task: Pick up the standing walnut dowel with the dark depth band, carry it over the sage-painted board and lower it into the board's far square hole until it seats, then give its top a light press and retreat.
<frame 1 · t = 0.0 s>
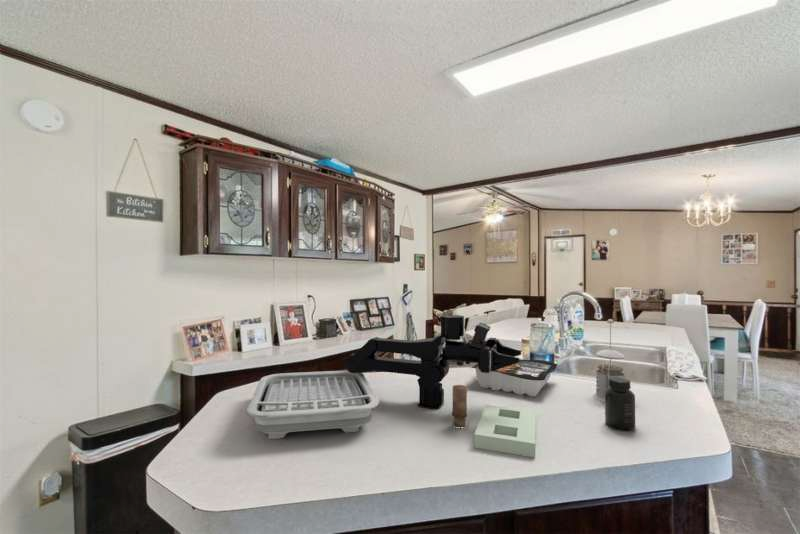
hand: (520, 356, 104), 17 cm above the table, tool horizontal, fingers open, 9 cm apart
food packaging: (513, 386, 133), on the table
dish rack: (314, 416, 105), on the table
peg: (459, 425, 98), on the table
french press: (609, 399, 119), on the table
board: (507, 433, 93), on the table
supplement bottle: (619, 426, 99), on the table
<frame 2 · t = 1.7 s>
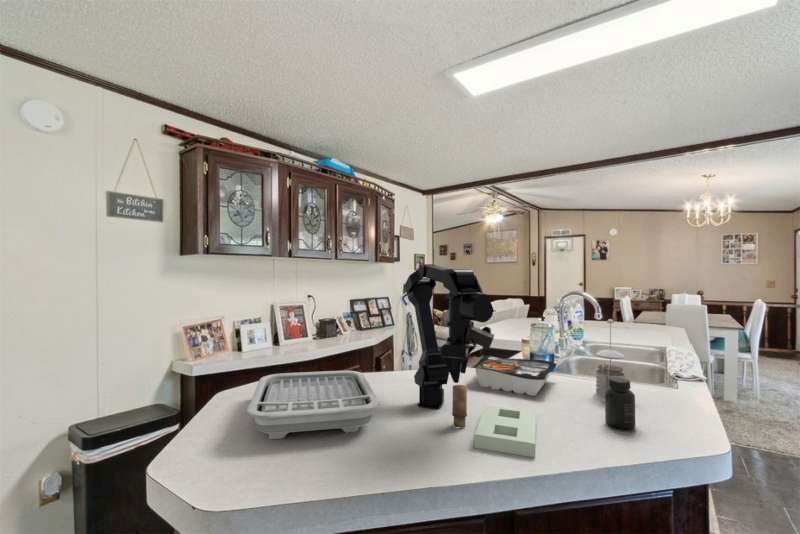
hand: (459, 377, 98), 12 cm above the table, tool pointing down, fingers open, 9 cm apart
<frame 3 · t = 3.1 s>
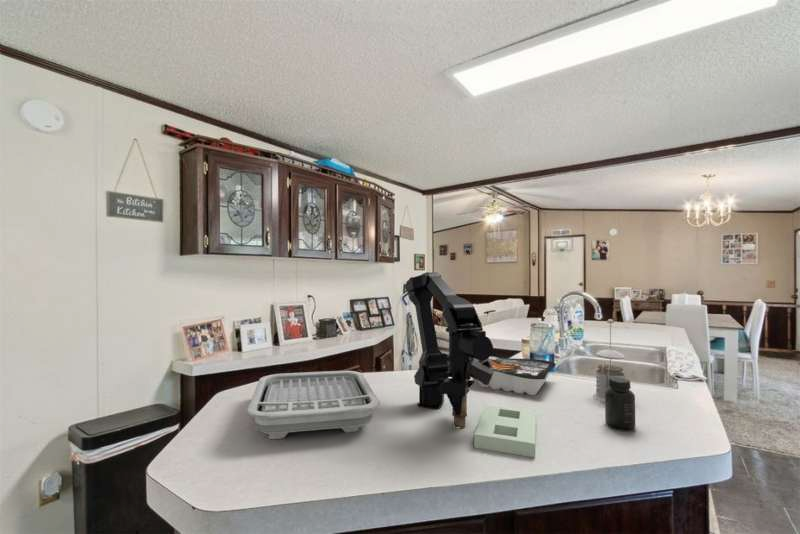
hand: (459, 412, 98), 4 cm above the table, tool pointing down, fingers closed on peg, 4 cm apart
peg: (459, 425, 98), on the table, touching gripper
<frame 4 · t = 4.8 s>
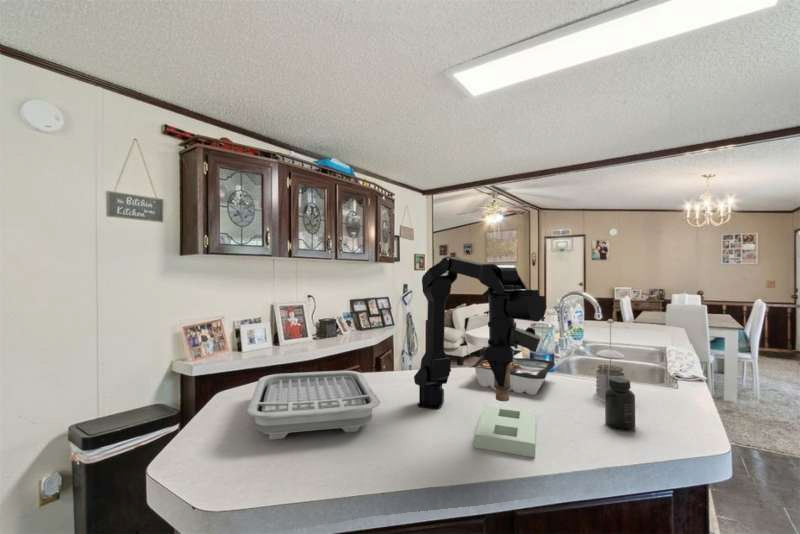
hand: (502, 384, 89), 14 cm above the table, tool pointing down, fingers closed on peg, 4 cm apart
peg: (502, 399, 89), point 10 cm above the table, touching gripper
when the fingers open (4 cm above the table, at t = 6.8 s): peg drops 1 cm, resting in board.
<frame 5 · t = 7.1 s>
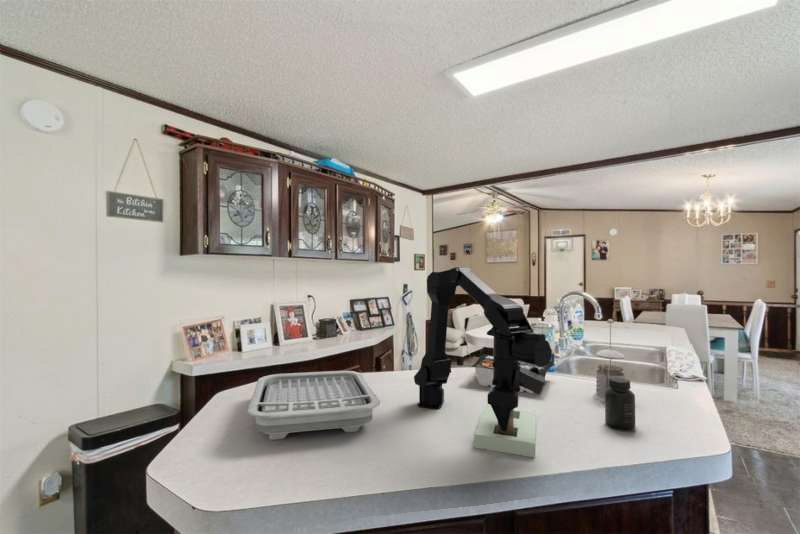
hand: (505, 424, 88), 4 cm above the table, tool pointing down, fingers open, 7 cm apart
peg: (505, 443, 88), resting in board
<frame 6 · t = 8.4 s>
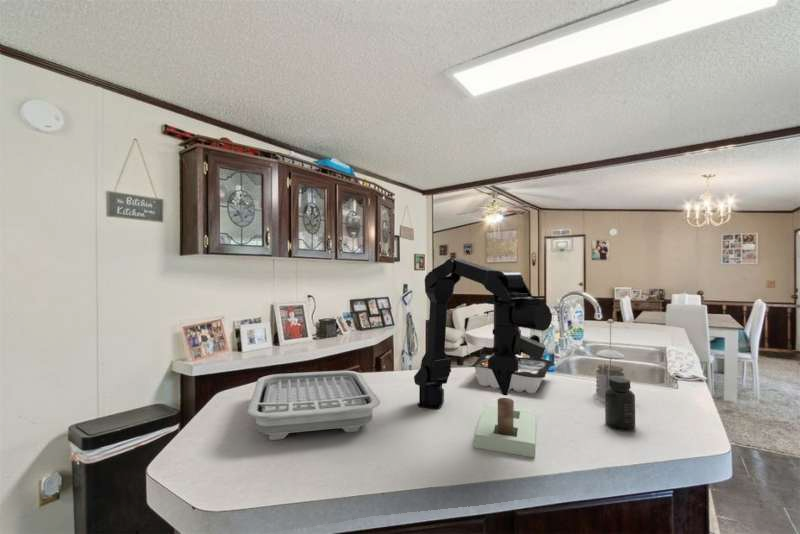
hand: (505, 391, 88), 12 cm above the table, tool pointing down, fingers open, 4 cm apart
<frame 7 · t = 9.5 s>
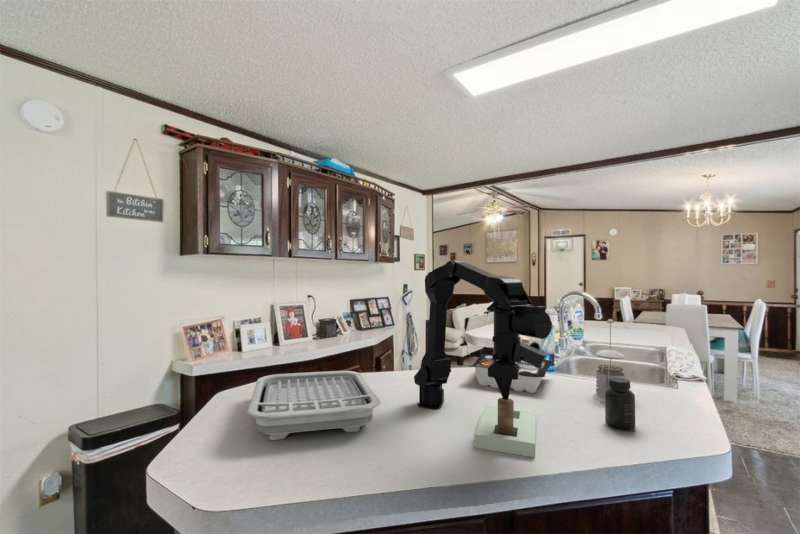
hand: (505, 399, 88), 10 cm above the table, tool pointing down, fingers closed
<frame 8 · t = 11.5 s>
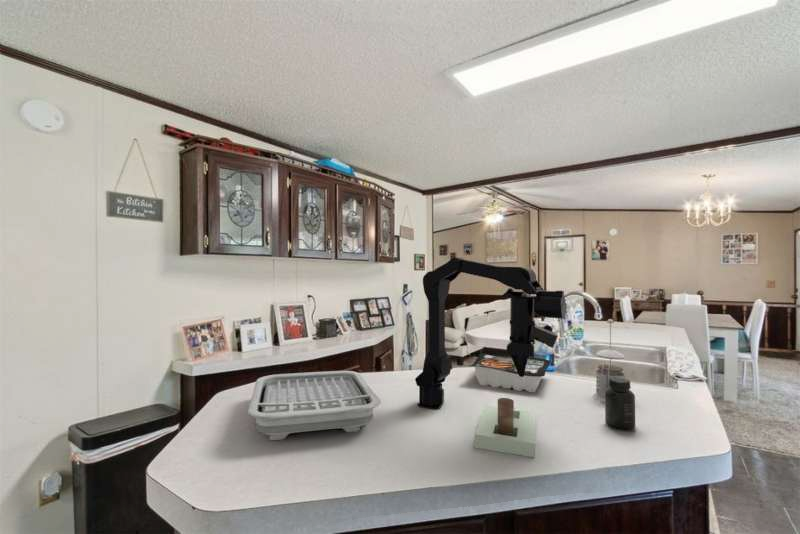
hand: (521, 376, 97), 13 cm above the table, tool pointing down, fingers closed
at the end: peg 0.0 cm from the target spot on the board, point 0.0 cm above the board's base; peg tilted 0°; the gripper is holding nothing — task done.
